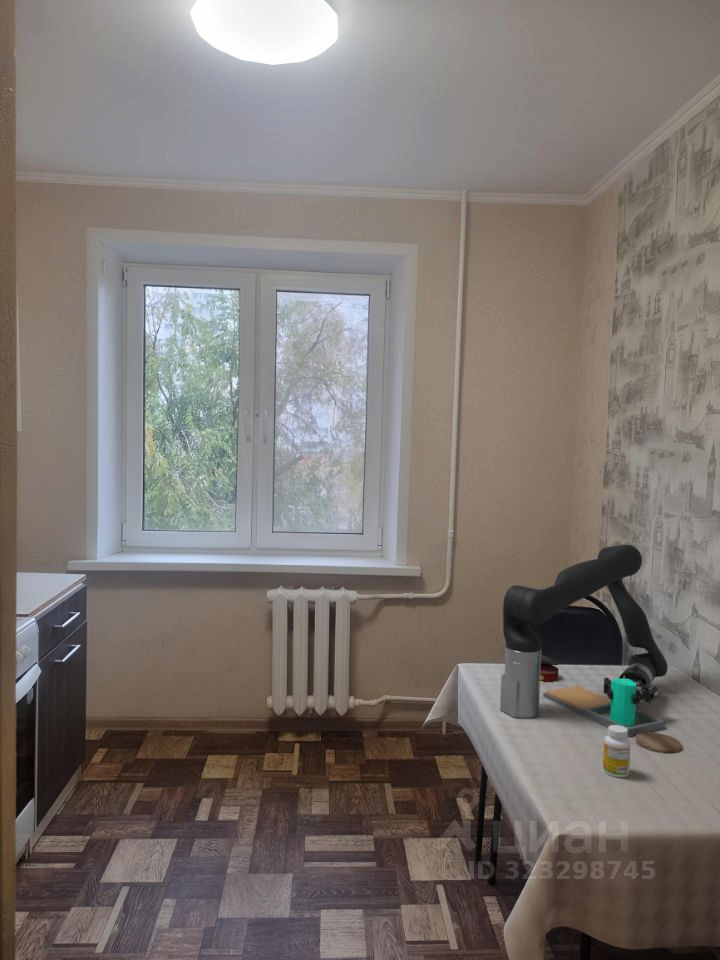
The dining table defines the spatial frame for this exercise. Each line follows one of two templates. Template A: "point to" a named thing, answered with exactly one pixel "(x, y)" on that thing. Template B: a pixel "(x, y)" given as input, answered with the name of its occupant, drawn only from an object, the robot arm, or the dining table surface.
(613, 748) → the supplement bottle
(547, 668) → the canned food
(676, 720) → the dining table surface
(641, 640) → the robot arm
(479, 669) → the dining table surface
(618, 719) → the candle
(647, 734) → the coaster
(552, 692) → the case
